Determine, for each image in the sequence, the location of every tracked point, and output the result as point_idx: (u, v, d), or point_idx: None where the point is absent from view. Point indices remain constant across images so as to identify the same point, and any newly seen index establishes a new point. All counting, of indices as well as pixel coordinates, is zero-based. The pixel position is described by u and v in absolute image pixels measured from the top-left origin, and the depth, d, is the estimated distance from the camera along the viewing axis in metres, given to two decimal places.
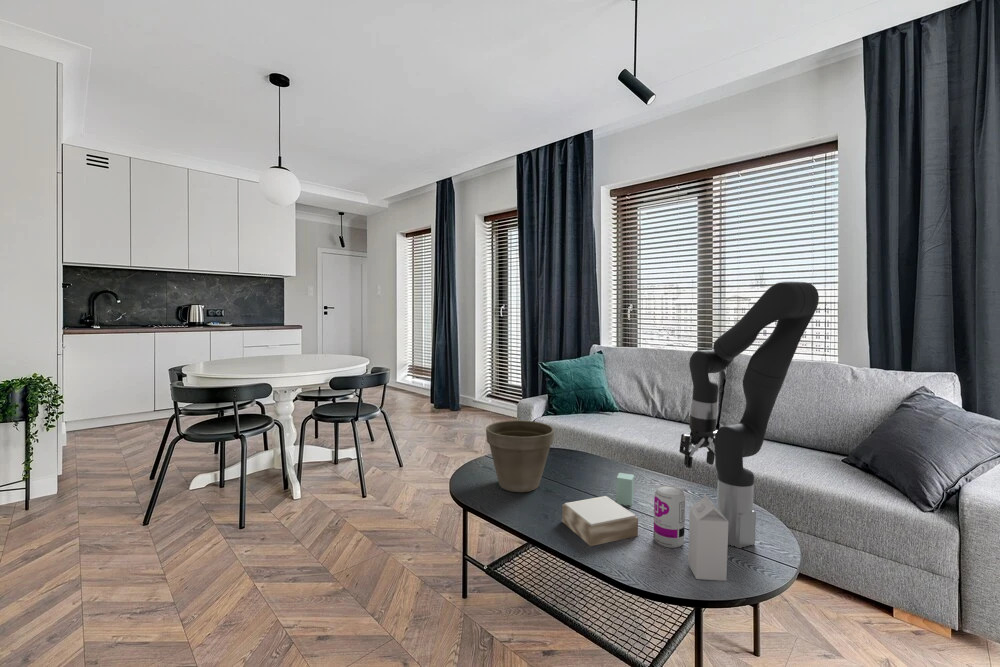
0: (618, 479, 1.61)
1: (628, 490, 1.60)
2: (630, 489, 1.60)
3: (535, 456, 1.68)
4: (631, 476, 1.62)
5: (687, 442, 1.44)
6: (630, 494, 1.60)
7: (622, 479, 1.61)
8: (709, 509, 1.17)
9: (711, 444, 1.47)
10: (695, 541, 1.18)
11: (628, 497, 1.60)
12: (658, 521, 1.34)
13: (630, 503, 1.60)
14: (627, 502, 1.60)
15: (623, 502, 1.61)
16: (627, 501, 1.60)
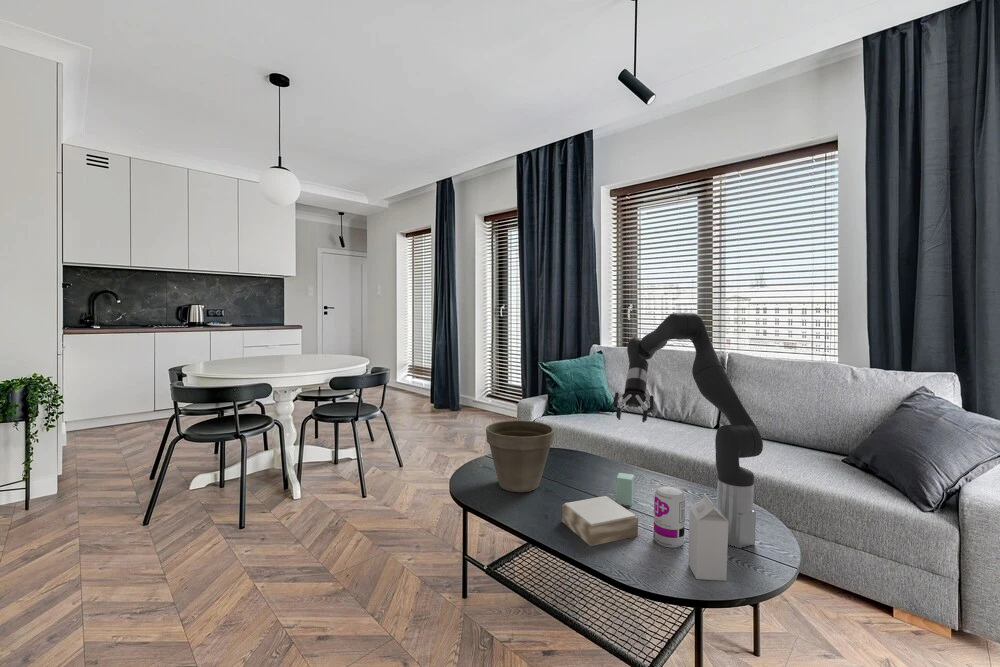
0: (618, 479, 1.61)
1: (628, 490, 1.60)
2: (630, 489, 1.60)
3: (535, 456, 1.68)
4: (631, 476, 1.62)
5: (615, 396, 1.79)
6: (630, 494, 1.60)
7: (622, 479, 1.61)
8: (709, 509, 1.17)
9: (640, 401, 1.74)
10: (695, 541, 1.18)
11: (628, 497, 1.60)
12: (658, 521, 1.34)
13: (630, 503, 1.60)
14: (627, 502, 1.60)
15: (623, 502, 1.61)
16: (627, 501, 1.60)
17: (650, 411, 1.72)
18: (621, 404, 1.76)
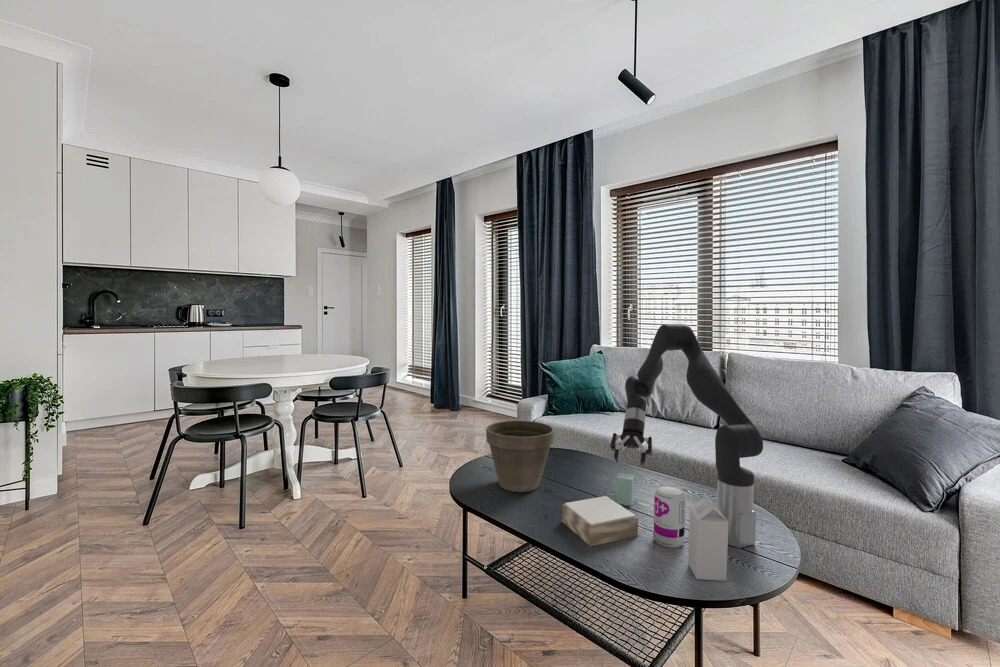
0: (618, 479, 1.61)
1: (628, 490, 1.60)
2: (630, 489, 1.60)
3: (535, 456, 1.68)
4: (631, 476, 1.62)
5: (613, 437, 1.76)
6: (630, 494, 1.60)
7: (622, 479, 1.61)
8: (709, 509, 1.17)
9: (638, 443, 1.71)
10: (695, 541, 1.18)
11: (628, 497, 1.60)
12: (658, 521, 1.34)
13: (630, 503, 1.60)
14: (627, 502, 1.60)
15: (623, 502, 1.61)
16: (627, 501, 1.60)
17: (648, 453, 1.69)
18: (619, 445, 1.73)
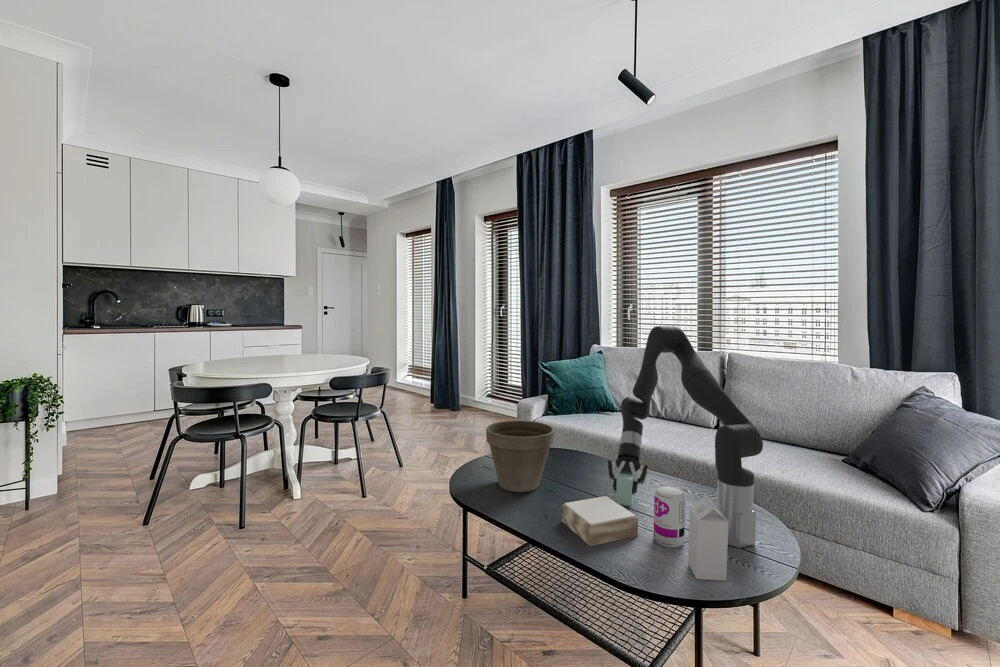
0: (618, 479, 1.61)
1: (628, 490, 1.60)
2: (630, 489, 1.60)
3: (535, 456, 1.68)
4: (631, 476, 1.62)
5: (609, 465, 1.68)
6: (630, 494, 1.60)
7: (622, 479, 1.61)
8: (709, 509, 1.17)
9: (632, 469, 1.64)
10: (695, 541, 1.18)
11: (628, 497, 1.60)
12: (658, 521, 1.34)
13: (630, 503, 1.60)
14: (627, 502, 1.60)
15: (623, 502, 1.61)
16: (627, 501, 1.60)
17: (640, 482, 1.62)
18: (617, 474, 1.65)
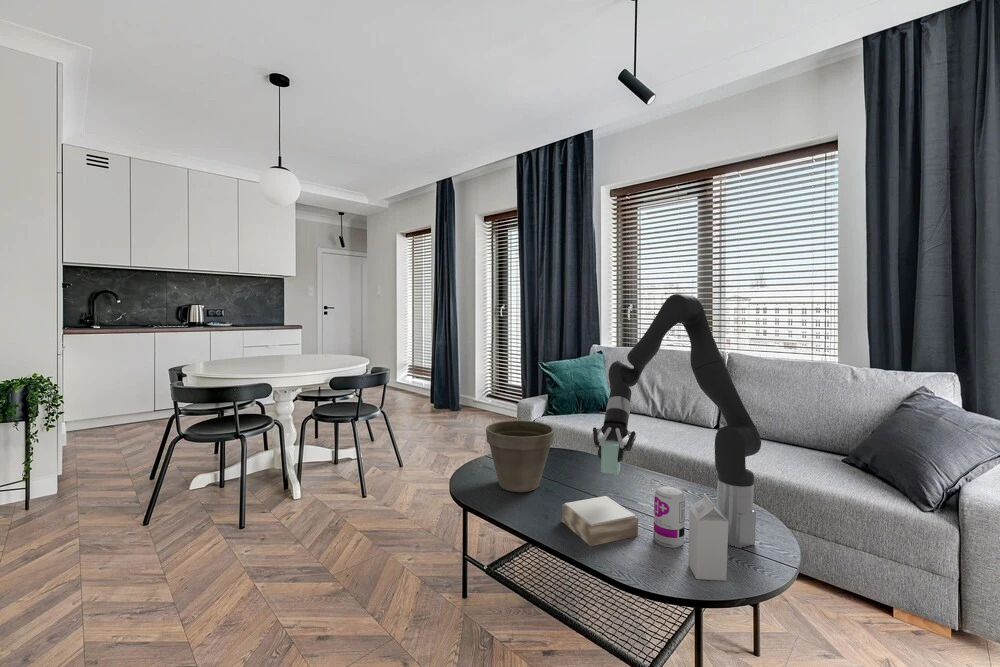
0: (603, 445, 1.49)
1: (613, 457, 1.47)
2: (616, 456, 1.47)
3: (535, 456, 1.68)
4: (617, 443, 1.50)
5: (594, 432, 1.55)
6: (616, 461, 1.47)
7: (607, 445, 1.48)
8: (709, 509, 1.17)
9: (618, 436, 1.51)
10: (695, 541, 1.18)
11: (613, 465, 1.48)
12: (658, 521, 1.34)
13: (616, 471, 1.47)
14: (613, 470, 1.48)
15: (608, 470, 1.48)
16: (613, 469, 1.48)
17: (627, 449, 1.49)
18: None
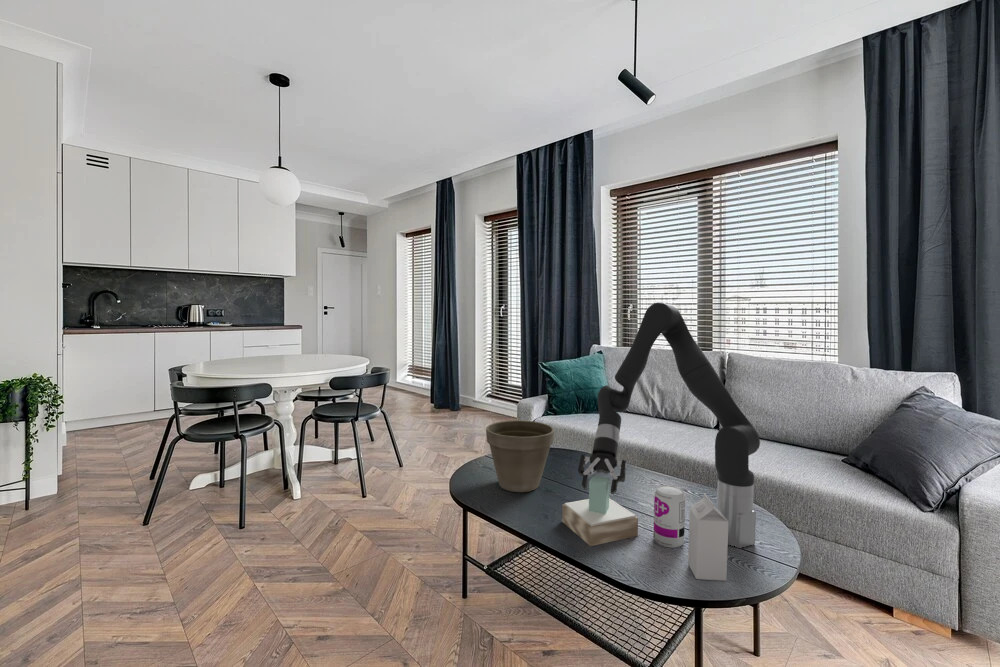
0: (591, 483, 1.42)
1: (602, 495, 1.41)
2: (604, 494, 1.40)
3: (535, 456, 1.68)
4: (606, 479, 1.43)
5: (581, 460, 1.49)
6: (604, 500, 1.40)
7: (595, 483, 1.41)
8: (709, 509, 1.17)
9: (609, 467, 1.44)
10: (695, 541, 1.18)
11: (601, 503, 1.41)
12: (658, 521, 1.34)
13: (604, 510, 1.41)
14: (601, 509, 1.41)
15: (596, 509, 1.41)
16: (601, 508, 1.41)
17: (621, 480, 1.42)
18: (588, 470, 1.46)
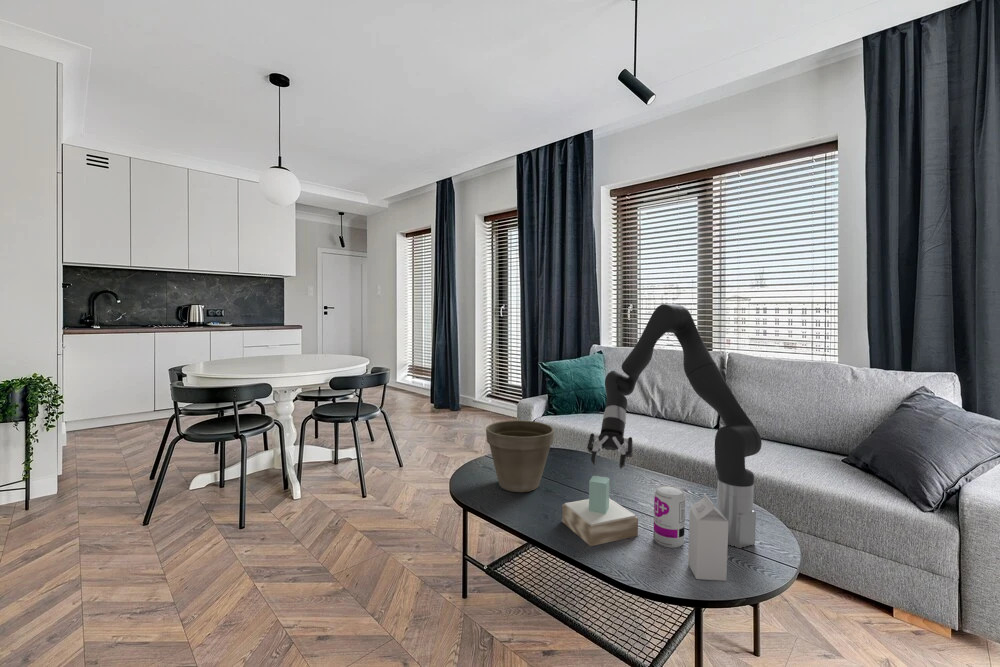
0: (591, 483, 1.42)
1: (602, 495, 1.41)
2: (604, 494, 1.40)
3: (535, 456, 1.68)
4: (606, 479, 1.43)
5: (590, 438, 1.61)
6: (604, 500, 1.40)
7: (595, 483, 1.41)
8: (709, 509, 1.17)
9: (617, 444, 1.56)
10: (695, 541, 1.18)
11: (601, 503, 1.41)
12: (658, 521, 1.34)
13: (604, 510, 1.41)
14: (601, 509, 1.41)
15: (596, 509, 1.41)
16: (601, 508, 1.41)
17: (628, 455, 1.54)
18: (596, 447, 1.58)
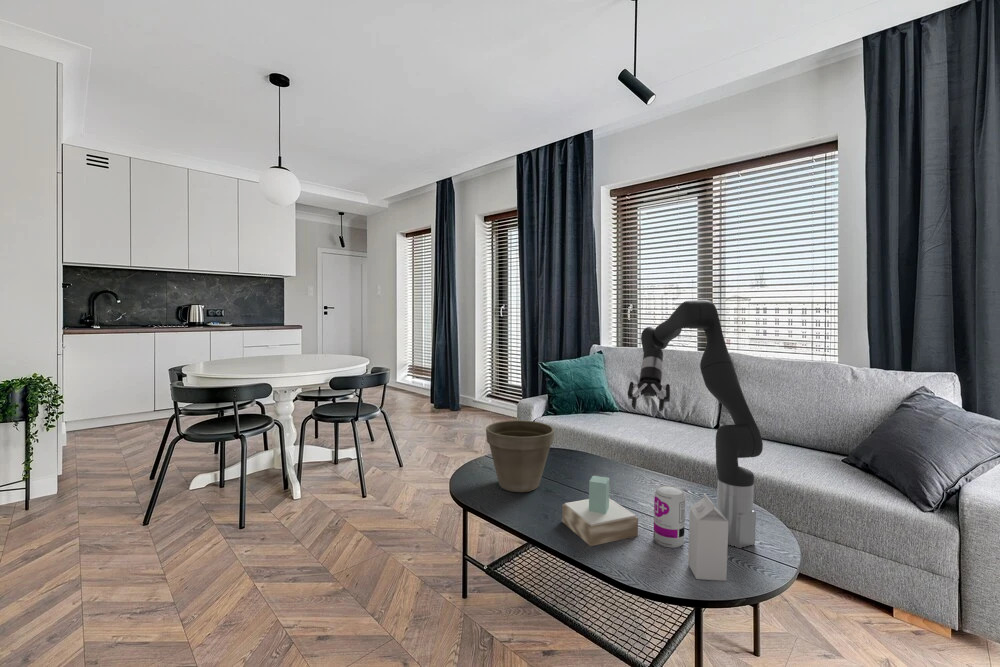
0: (591, 483, 1.42)
1: (602, 495, 1.41)
2: (604, 494, 1.40)
3: (535, 456, 1.68)
4: (606, 479, 1.43)
5: (630, 385, 1.74)
6: (604, 500, 1.40)
7: (595, 483, 1.41)
8: (709, 509, 1.17)
9: (656, 390, 1.69)
10: (695, 541, 1.18)
11: (601, 503, 1.41)
12: (658, 521, 1.34)
13: (604, 510, 1.41)
14: (601, 509, 1.41)
15: (596, 509, 1.41)
16: (601, 508, 1.41)
17: (667, 400, 1.67)
18: (636, 393, 1.71)
